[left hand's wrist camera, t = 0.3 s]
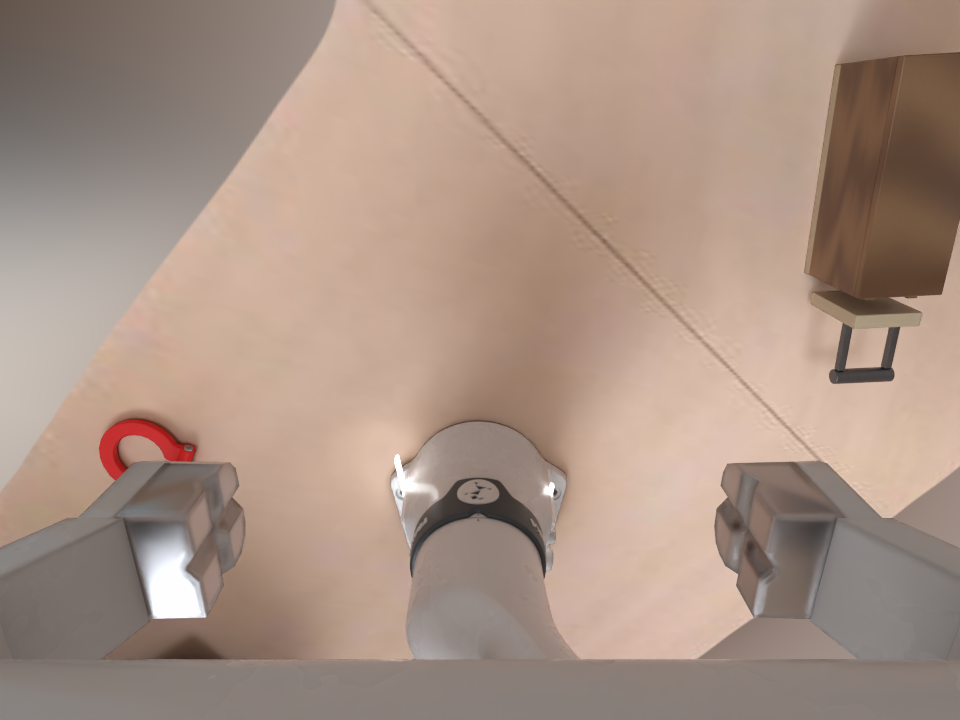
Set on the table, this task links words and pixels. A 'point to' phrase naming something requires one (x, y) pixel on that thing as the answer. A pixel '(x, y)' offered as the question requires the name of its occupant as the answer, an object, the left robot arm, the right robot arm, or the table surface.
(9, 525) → the table surface
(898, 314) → the drawer
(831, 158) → the tall brown box
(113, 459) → the tow hook
